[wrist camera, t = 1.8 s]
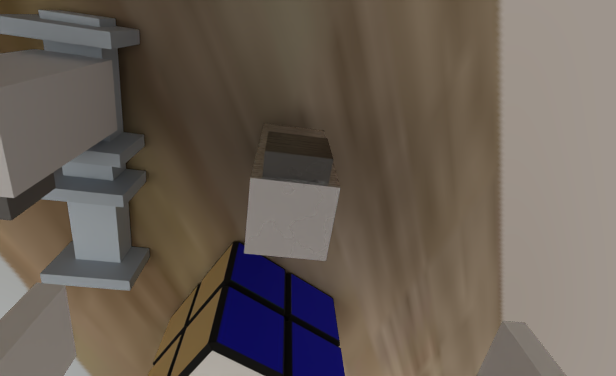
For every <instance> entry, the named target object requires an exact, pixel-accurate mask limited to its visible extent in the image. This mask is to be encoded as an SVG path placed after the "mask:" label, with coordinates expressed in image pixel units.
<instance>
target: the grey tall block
mask: <svg viewBox="0 0 616 376" xmlns="http://www.w3.org/2000/svg"><path fill="white" fill-rule="evenodd" d="M339 193H340V185H339V181H338V178H337V174H336V171H335V167H334V164H333V156H332V153H331V150H330V146H329V143H328V140H327V138H326V136H325V133H324V131H323V130H315V129H307V128H300V127H292V126H284V125H276V124H268V123H264V125H263V129H262V133H261V137H260V141H259V145H258V149H257V153H256V157H255V161H254V165H253V169H252V173H251V177H250V188H249V200H248V212H247V224H246V236H245V248H244V253H245V254H256V255H266V256H277V257H288V258H299V259H310V260H321V261H326V258H327V253H328V248H329V243H330V238H331V233H332V228H333V223H334V218H335V213H336V208H337V203H338V198H339Z"/></svg>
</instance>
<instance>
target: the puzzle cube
mask: <svg viewBox="0 0 616 376" xmlns="http://www.w3.org/2000/svg"><path fill="white" fill-rule="evenodd" d="M244 248H245V246H244V245H243V244H241V243H239V242H235V243H232V244H231V246H230V247H229V248H228V249H227V251H226V252H225V253H224V254H223V255H222V257H221V258H220V259H219V260H218V261H217V263H216V264H215V265H214V266H213V268H212V269H211V270H210V271H209V272H208V274H207V275H206V276H205V277H204V278H203V280H202V282H201V285H198V286H197V287H196V288H195V289H194V290H193V292H192V293H191V294H190V295H189V297H188V298H187V299H186V300H185V301H184V303H183V304H182V305H181V306H180V308H179V309H178V310H177V311H176V312H175V314H174V315H173V316H172V317H171V318H170V321H169V323H168V326H167V328H166V331H165V334H164V336H163V339H162V341H161V344H160V346H159V349H158V351H157V354H156V356H155V359H154V361H153V365H154V366H153V368H152V369H151V370H150V372H149V374H148V376H345V373H344V367H343V360H342V354H341V348H339V347H338V346H340V342H339V335H338V328H337V321H336V315H335V308H334V302H333V298H331V297H329V296H328V295H326V294H324V293H323V292H321V291H319V290H318V289H316V288H314V287H313V286H311V285H309V284H308V283H306V282H304V281H303V280H301V279H299V278H298V277H296V276H294V275H293V274H286V273H285V270H284V269H283V268H281V267H279V266H278V265H276V264H274V263H273V262H271V261H269V260H268V259H266V258H264V257H263V256H261V255H256V254H245V253H244Z"/></svg>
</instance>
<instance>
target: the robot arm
mask: <svg viewBox="0 0 616 376" xmlns="http://www.w3.org/2000/svg"><path fill="white" fill-rule="evenodd" d="M75 357H76V349H75V343H74V337H73V330H72V324H71V318H70V312H69V305H68V299H67V293H66V287H65V285H58V284H46V283H36V284H35V285H34V286H33V287H32V288H31V289H30V290H29V291H28V292H27V293H26V294H25V295H24V296H23V297H22V298H21V299H20V300H19V301H18V302H17V303H16V304H15V305H14V306H13V307H12V308H11V309H10V310H9V311H8V312H7V313H6V314H5V315H4V316H3V317H2V318H1V320H0V376H64V374H65V373H66V371H67V369H68V368H69V366H70V365H71V363H72V361H73V360H74V359H75ZM477 376H566V374H565V373H564V372H563V371H562V369H561V368H560V367H559V366H558V364H557V363H556V362H555V361H554V359H553V358H552V357H551V355H550V354H549V353H548V351H547V350H546V349H545V348H544V346H543V345H542V344H541V342H540V341H539V340H538V339H537V337H536V336H535V335H534V333H533V332H532V331H531V330H530V328H529V327H528V326H527V325H526V323H524V322H511V321H502V323H501V325H500V327H499V329H498V332H497V334H496V336H495V338H494V340H493V342H492V344H491V346H490V349H489V351H488V353H487V355H486V357H485V359H484V361H483V363H482V365H481V368H480V370H479V372H478V374H477Z"/></svg>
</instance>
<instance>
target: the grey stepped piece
mask: <svg viewBox="0 0 616 376" xmlns="http://www.w3.org/2000/svg"><path fill="white" fill-rule="evenodd" d="M38 11H39V15H38V14H0V34H7V35H14V36H21V37H28V38H35V39H42V40H43V44H44V50H38V49H31V50H24V51H16V52H8V53H1V54H0V219H3V220H13V219H14V218H15V217H17V216H18V215H20V214H21V213H22V212H24V211H25V210H26V209H28V208H29V207H30V206H32V205H33V204H35V203H36V202H37V201H39V200H40V199H45V200H55V201H65V202H67V204H68V211H69V217H70V224H71V231H72V237H73V241H71V242H70V243H69V244H68V245H67V247H66V248H65V249H64V250H63V251H62V252H61V253H60V254H59V255H58V256H57V257H56V258H55V259H54V260H53V261H52V262H51V263H50V264H49V265H48V266H47V267H46V268H45V269H44V270H43V271H42V272H41V273H40V276H41V281H42V283H46V284H58V285H67V286H80V287H92V288H105V289H117V290H131V288H132V286H133V285H134V283H135V281H136V280H137V278H138V276H139V274H140V273H141V271H142V269H143V268H144V266H145V264H146V262H147V261H148V259H149V257H150V252H149V248H141V247H132V245H131V231H130V217H129V203H128V202H129V201H130V200H131V198H132V197H133V196H134V195H135V194H136V193H137V192H138V190H139V189H140V188H141V187H142V186H143V185H144V184H145V182H146V171H142V170H133V169H126V162H127V161H129V160H130V159H131V158H132V157H133V156H134V155H135V154H136V153H137V152H139V151H140V150H141V149H142V148H143V147H144V146H145V144H144V135H143V134H135V133H126V132H123V118H122V104H121V90H120V76H119V62H118V48H122V47H127V46H132V45H138V44H140V37H139V29H132V28H126V27H119V26H116V20H115V18H108V17H102V16H95V15H89V14H82V13H75V12H69V11H62V10H38Z"/></svg>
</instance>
